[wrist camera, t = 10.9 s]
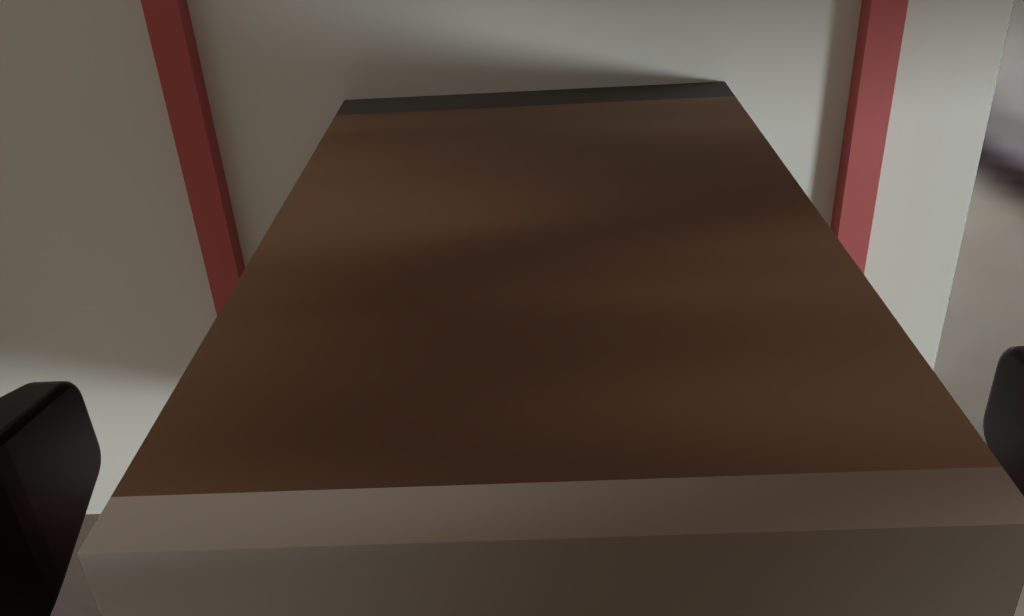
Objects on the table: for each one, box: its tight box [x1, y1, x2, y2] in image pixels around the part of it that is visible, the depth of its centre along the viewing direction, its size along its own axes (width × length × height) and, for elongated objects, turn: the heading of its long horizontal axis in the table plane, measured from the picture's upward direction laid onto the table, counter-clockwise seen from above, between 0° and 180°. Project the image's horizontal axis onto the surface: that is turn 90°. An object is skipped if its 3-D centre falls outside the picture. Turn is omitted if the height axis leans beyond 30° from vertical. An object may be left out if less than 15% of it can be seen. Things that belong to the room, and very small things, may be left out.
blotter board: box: [0, 0, 1014, 514], centre depth 12 cm, size 22×8×2 cm, turn 93°
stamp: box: [77, 81, 1024, 616], centre depth 9 cm, size 4×4×7 cm
